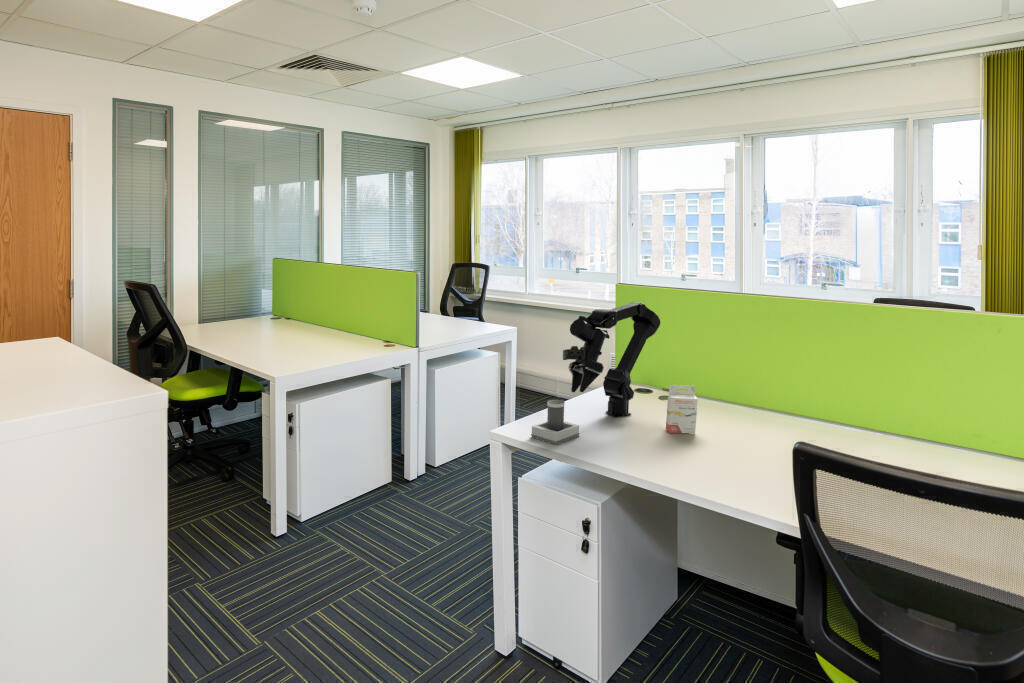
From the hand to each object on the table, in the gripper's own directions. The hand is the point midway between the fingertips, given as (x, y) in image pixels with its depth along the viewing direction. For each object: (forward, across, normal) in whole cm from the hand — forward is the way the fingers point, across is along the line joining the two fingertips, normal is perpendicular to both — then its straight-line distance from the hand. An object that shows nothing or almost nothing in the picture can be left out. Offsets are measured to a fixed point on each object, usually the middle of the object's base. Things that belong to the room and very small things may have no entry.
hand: (576, 392), depth 197 cm
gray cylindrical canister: (+15, +5, -4) cm, 16 cm away
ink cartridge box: (+1, +6, +34) cm, 35 cm away
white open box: (+16, +5, -3) cm, 17 cm away
